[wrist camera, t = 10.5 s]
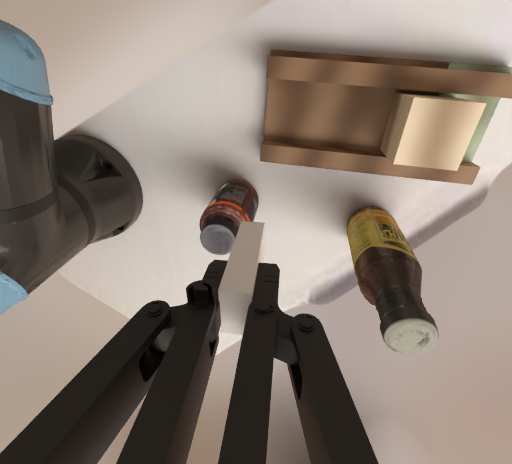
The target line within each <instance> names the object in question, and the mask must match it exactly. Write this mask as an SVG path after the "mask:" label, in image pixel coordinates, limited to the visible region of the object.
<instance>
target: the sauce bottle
mask: <svg viewBox="0 0 512 464" xmlns="http://www.w3.org/2000/svg"><path fill="white" fill-rule="evenodd" d="M347 235H348V240H349V245H350V250H351V255H352V260H353V265H354V270H355V274H356V276H357V279H358V284H359V287H360V290H361V292H362V294H363V295H364V297H365V298H366V300H368V301H369V302H370V303H371V304H372V305H375V306H376V309H377V311H378V313H379V317H380V320H381V324H380V331H381V334H382V337H383V339H384V342H385V344H386V345H387V346H388V347H389V348H390V349H392V350H393V351H395V352H398V353H401V354H419V353H423V352H426V351H427V350H429V349H431V348H432V347H433V346H434V345H435V344H436V342H437V339H438V329H437V327H436V324H435V322H434V319H433V318H432V317H431V315H430V314H428V313H427V311H426V308H425V307H424V305H423V303H422V298H421V280H422V279H421V278H422V269H421V266H420V264H419V262H418V260H417V258H416V257H415V255H414V253H413V251H412V250H411V248H410V246H409V244H408V243H407V240H406V239H405V237H404V235H403V234H402V232H401V230H400V228H399V227H398V225H397V223H396V221H395V220H394V218H393V217H392V216H391V215H390V214H389V213H388V212H386V211H385V210H383V209H381V208H378V207H367V208H363V209H360V210H358V211H356V212H355V213H354V215H352V217H351V218H350V220H349V222H348V224H347Z"/></svg>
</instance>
